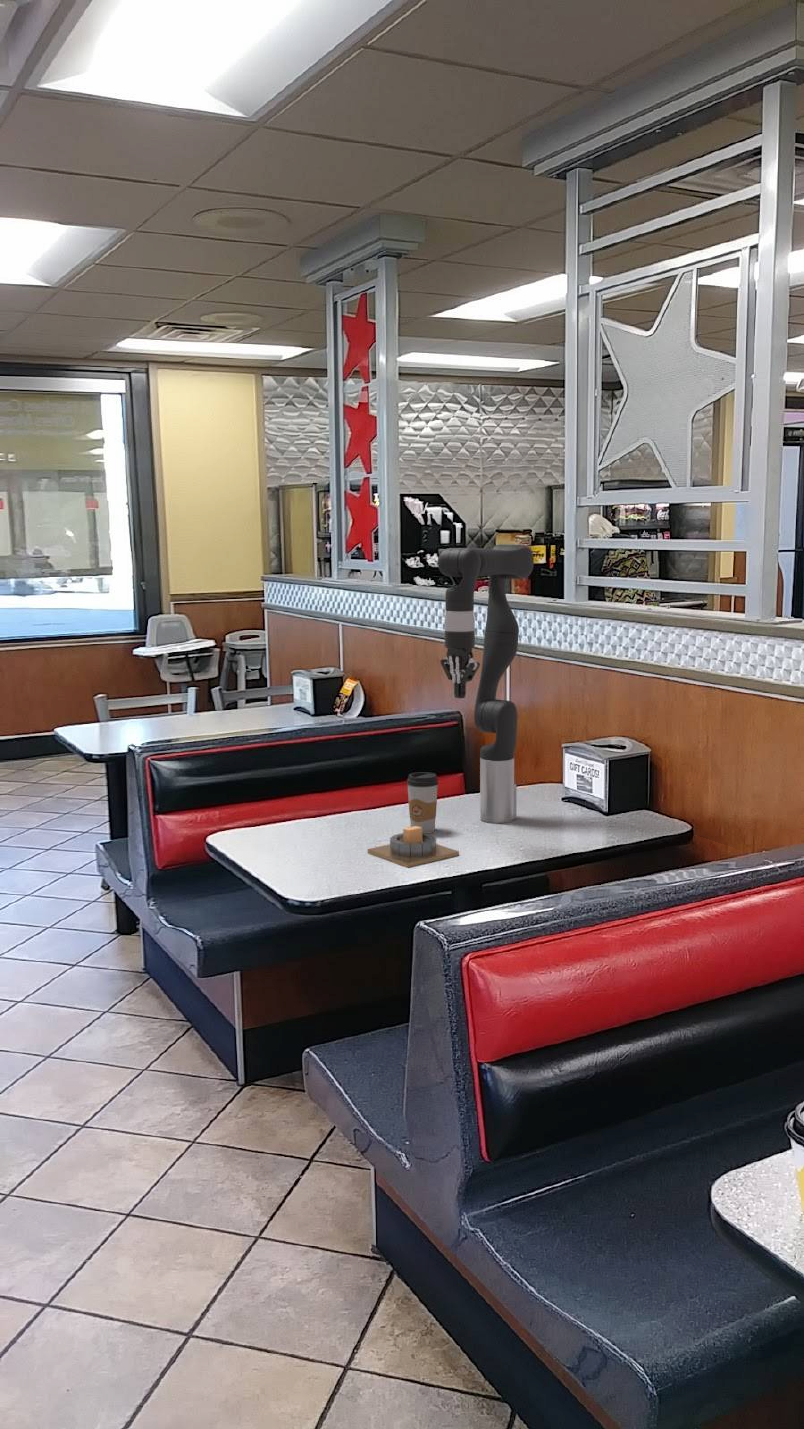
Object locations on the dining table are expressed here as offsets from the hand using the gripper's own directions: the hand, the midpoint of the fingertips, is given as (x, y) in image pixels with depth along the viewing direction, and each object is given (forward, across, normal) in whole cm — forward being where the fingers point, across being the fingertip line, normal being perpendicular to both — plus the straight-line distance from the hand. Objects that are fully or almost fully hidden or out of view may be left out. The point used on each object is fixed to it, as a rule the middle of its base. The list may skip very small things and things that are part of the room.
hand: (459, 697), depth 280 cm
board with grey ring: (+37, -2, +17) cm, 41 cm away
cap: (+36, -2, +17) cm, 40 cm away
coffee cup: (+37, +14, +1) cm, 40 cm away
